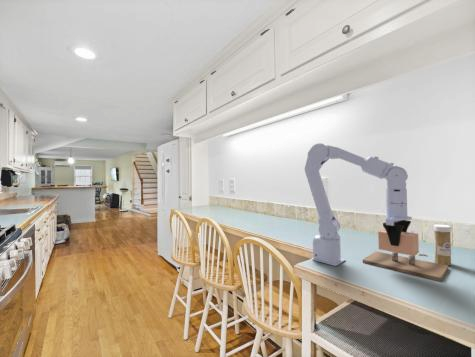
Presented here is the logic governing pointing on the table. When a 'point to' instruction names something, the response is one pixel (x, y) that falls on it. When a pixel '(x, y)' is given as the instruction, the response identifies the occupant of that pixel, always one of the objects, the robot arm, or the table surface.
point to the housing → (406, 245)
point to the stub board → (407, 265)
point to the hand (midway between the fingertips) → (397, 243)
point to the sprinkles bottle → (442, 244)
